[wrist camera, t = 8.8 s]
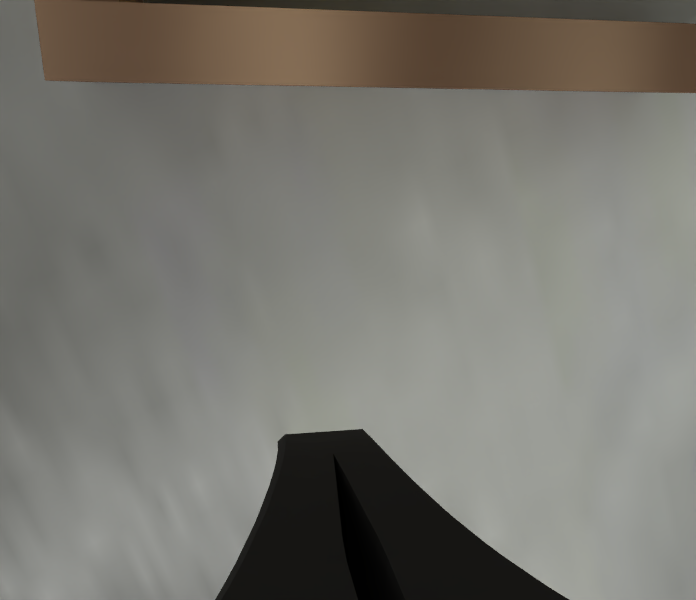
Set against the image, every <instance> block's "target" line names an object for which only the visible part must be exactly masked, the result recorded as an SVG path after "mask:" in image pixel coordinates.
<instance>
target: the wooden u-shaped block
mask: <svg viewBox="0 0 696 600" xmlns="http://www.w3.org/2000/svg"><path fill="white" fill-rule="evenodd" d="M34 2H35V10H36V17H37V25H38V32H39V39H40V47H41V54H42V62H43V69H44V77H45V80H49V81H77V82H119V83H173V84H227V85H280V86H334V87H388V88H441V89H495V90H549V91H602V92H662V93H696V24H688V23H661V22H635V21H609V20H582V19H556V18H530V17H503V16H477V15H451V14H424V13H398V12H371V11H345V10H319V9H292V8H266V7H240V6H213V5H187V4H161V3H143V0H34Z"/></svg>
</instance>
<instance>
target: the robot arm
mask: <svg viewBox="0 0 696 600" xmlns="http://www.w3.org/2000/svg"><path fill="white" fill-rule="evenodd" d="M215 600H569V599H567V598H565V597H564V596H562V595H561V594H559V593H557V592H556V591H554V590H552V589H551V588H549V587H548V586H546V585H545V584H543V583H542V582H540V581H539V580H537V579H536V578H534V577H533V576H531V575H530V574H528V573H527V572H525V571H524V570H523V569H521V568H520V567H518V566H517V565H515V564H514V563H512V562H511V561H509V560H508V559H506V558H505V557H504V556H502V555H501V554H499V553H498V552H497V551H495V550H494V549H493V548H491V547H490V546H489V545H487V544H486V543H485V542H483V541H482V540H481V539H480V538H478V537H477V536H476V535H475V534H473V533H472V532H471V531H470V530H468V529H467V528H466V527H465V526H464V525H462V524H461V523H460V522H459V521H457V520H456V519H455V518H454V517H452V516H451V515H450V514H449V513H448V512H447V511H445V510H444V509H443V508H442V507H441V506H440V505H439V504H438V503H437V502H436V501H435V500H433V499H432V498H431V497H430V496H429V495H428V494H427V493H426V492H425V491H424V490H423V489H422V488H420V487H419V486H418V485H417V484H416V483H415V482H414V481H413V480H412V479H411V478H410V477H409V476H408V475H407V474H406V473H405V472H404V471H403V470H402V469H401V468H400V467H399V466H398V465H397V464H396V463H395V462H394V461H393V460H392V459H391V458H390V457H389V456H388V455H387V454H386V453H385V452H384V451H383V449H382V448H381V447H380V446H379V445H378V444H377V443H376V442H375V441H374V440H373V439H372V438H371V437H370V436H369V435H368V434H367V433H366V432H365V431H364V430H363V429H358V430H344V431H329V432H315V433H300V434H285V435H284V436H283V437H282V438H281V439H280V440H279V441H278V454H277V460H276V465H275V469H274V472H273V476H272V479H271V482H270V486H269V488H268V491H267V494H266V496H265V499H264V501H263V504H262V507H261V509H260V512H259V515H258V517H257V519H256V522H255V524H254V526H253V528H252V530H251V533H250V535H249V537H248V539H247V541H246V543H245V545H244V547H243V549H242V551H241V553H240V555H239V558H238V560H237V562H236V564H235V565H234V567H233V569H232V571H231V573H230V575H229V577H228V578H227V580H226V582H225V584H224V586H223V587H222V589H221V591H220V592H219V594H218V596H217V598H216V599H215Z"/></svg>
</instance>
